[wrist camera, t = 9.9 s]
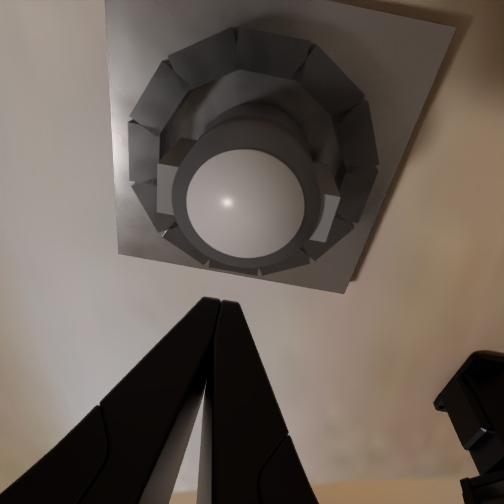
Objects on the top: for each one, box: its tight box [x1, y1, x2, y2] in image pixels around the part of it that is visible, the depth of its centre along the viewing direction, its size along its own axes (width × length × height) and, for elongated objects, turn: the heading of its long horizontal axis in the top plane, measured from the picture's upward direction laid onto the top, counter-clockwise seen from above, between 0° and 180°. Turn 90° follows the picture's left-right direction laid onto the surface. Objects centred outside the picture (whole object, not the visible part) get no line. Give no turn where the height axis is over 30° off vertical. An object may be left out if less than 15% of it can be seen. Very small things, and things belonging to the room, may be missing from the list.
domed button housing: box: [157, 103, 341, 268], centre depth 15 cm, size 7×6×5 cm
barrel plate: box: [105, 0, 456, 294], centre depth 17 cm, size 14×14×3 cm
